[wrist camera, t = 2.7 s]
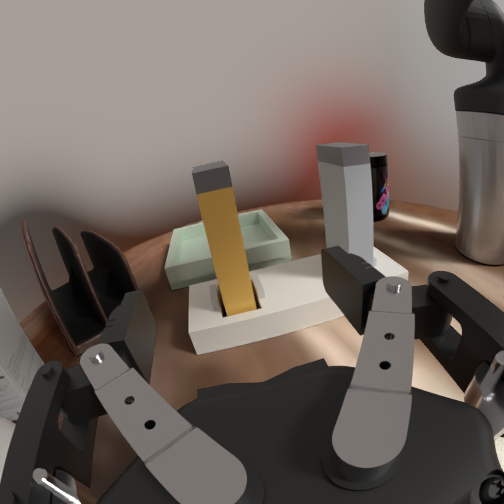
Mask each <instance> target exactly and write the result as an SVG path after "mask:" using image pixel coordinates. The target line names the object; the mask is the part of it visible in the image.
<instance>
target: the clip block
mask: <svg viewBox="0 0 504 504" xmlns="http://www.w3.org/2000/svg"><path fill="white" fill-rule="evenodd" d="M373 267H374V268H376V269H377V270H378V271H379V272H381V273H382V274H383V275H384V276H386V277H390V276H396V277H401V278H404V279H406V280H408V271H407V270H406V269H404V268H403V267H402V266H400V265H399V264H398V263H396V262H395V261H393V260H392V259H391V258H389V257H388V256H386V255H385V254H384V253H382V252H381V251H379V250H378V249H377V248H375V247H374V246H373ZM249 273H250V278H251V283H252V288H253V293H254V298H255V302H256V304H257V307H258V309H257V310H253V311H249V312H245V313H240V314H236V315H232V316H228V317H225V315H224V310H223V304H224V302H223V299H222V295H221V291H220V287H219V284H218V280H217V279H215V280H211V281H207V282H202V283H198V284H194V285H189V335H190V338H191V340H192V343H193V345H194V348H195V350H196V353H197V355H199V354H204V353H209V352H214V351H218V350H223V349H227V348H232V347H236V346H240V345H244V344H248V343H253V342H257V341H261V340H264V339H268V338H272V337H276V336H280V335H283V334H287V333H290V332H294V331H297V330H301V329H304V328H308V327H311V326H314V325H318V324H321V323H324V322H327V321H331V320H334V319H337V318H340V317H343V316H345V315H344V314H343V313H342V312H341V310H340V309H339V308H338V307H337V305H336V304H335V303H334V302H333V300H332V299H331V298H330V297H329V295H328V294H327V293H326V291H325V288H324V285H323V276H322V260H321V254H318V255H314V256H311V257H306V258H302V259H298V260H294V261H290V262H286V263H282V264H278V265H274V266H270V267H266V268H262V269H258V270H253V271H249Z"/></svg>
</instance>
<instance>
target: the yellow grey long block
mask: <svg viewBox="0 0 504 504" xmlns="http://www.w3.org/2000/svg"><path fill="white" fill-rule="evenodd" d="M192 175H193V180H194V185H195V189H196V194H197V198H198V203H199V207H200V211H201V215H202V220H203V224H204V228H205V232H206V236H207V240H208V244H209V248H210V253H211V256H212V260H213V264H214V268H215V272H216V276H217V280H218V284H219V287H220V291H221V295H222V299H223V302H224V306H225V310H226V313H227V317H228V316H232V315H236V314H240V313H245V312H249V311H253V310H257V308H256V303H255V298H254V293H253V288H252V283H251V278H250V273H249V268H248V263H247V258H246V253H245V248H244V243H243V238H242V233H241V228H240V223H239V218H238V213H237V208H236V203H235V198H234V193H233V188H232V183H231V177H230V172H229V167H228V165H227V164H226V163H225V162H223V161H219V162H214V163H210V164H205V165H200V166H196V167H193V171H192Z"/></svg>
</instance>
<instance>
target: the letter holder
mask: <svg viewBox="0 0 504 504" xmlns="http://www.w3.org/2000/svg"><path fill="white" fill-rule="evenodd" d="M21 230H22V235H23V240H24V245H25V248H26V251H27V253H28V256H29V259H30V262H31V265H32V267H33V270H34V273H35V275H36V278H37V280H38V283H39V285H40V288H41V290H42V292H43V294H44V297H45V299H46V301H47V303H48V305H49V307H50V309H51V311H52V314H53V316H54V318H55V320H56V322H57V324H58V326H59V327H60V329H61V331H62V333H63V335H64V336H65V338H66V340H67V342H68V344H69V345H70V347H71V349H72V351H73V353H74V354H75V355H76V356H79V355H81V354H83V353H84V352H85V351H86V350H87V349H89V348H90V347H92V346H94V345H97V344H99V341H100V338H101V336H102V333H103V331H104V328H106V327H105V326H106V323H107V322H108V319H109V316H110V314H111V312H112V311H113V310H114V309H115V308H116V307H117V306H120V305H121V303H122V301H123V298H124V296H125V294H126V293H129V292H134V291H138V290H139V288H138V287H137V284H136V281H135V279H134V277H133V274H132V272H131V269H130V267H129V264H128V262H127V260H126V258H125V256H124V254H123V253H122V251H121V250H120V249H119V248H118V247H117V246H116V245H115V244H113V243H112V242H110V241H109V240H107V239H106V238H104V237H102V236H101V235H99V234H97V233H95V232H92V231H89V230H83V231H82V232H81V237H82V239H83V241H84V244H85V246H86V249H87V251H88V254H89V256H90V259H91V261H92V263H93V266H94V268H93V269H92V270H91V271H89V272H87V270H86V268H85V265H84V263H83V260H82V257H81V255H80V253H79V251H78V249H77V247H76V245H75V244H74V242H73V241H72V240H71V239H70V237H69V236H68V235H67V234H66V233H65V232H64V231H63V230H62V229H61V228H60V227H58V226H55V227H54V228H53V230H52V231H53V234H54V237H55V240H56V243H57V245H58V248H59V251H60V254H61V256H62V259H63V261H64V264H65V266H66V269H67V271H68V273H69V276H70V278H69V282H68V283H66V284H65V285H63V286H61V287H59V288H57V289H55V290H51V289H50V287H49V285H48V282H47V280H46V277H45V275H44V272H43V270H42V268H41V264H40V262H39V260H38V256H37V254H36V251H35V247H34V245H33V241H32V239H31V236H30V232H29V229H28V226H27V223H26V221H25V219H23V220H22V221H21Z"/></svg>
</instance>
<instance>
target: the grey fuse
mask: <svg viewBox="0 0 504 504" xmlns="http://www.w3.org/2000/svg"><path fill="white" fill-rule="evenodd" d="M316 149H317V158H318V166H319V174H320V182H321V190H322V201H323V211H324V222H325V235H326V248H330V247H334V246H340V247H341V248H342V249H343V250H345V251H346V252H347V253H348V254H349V253H352V254H355V255H358V256H360V257H362V258H363V259H364V260H366V261H367V262H368V263H369V264H371V265H372V267H373V243H374V238H373V197H372V180H371V166H370V155H369V145H364V144H353V143H341V142H339V143H331V144H321V145H316Z"/></svg>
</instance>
